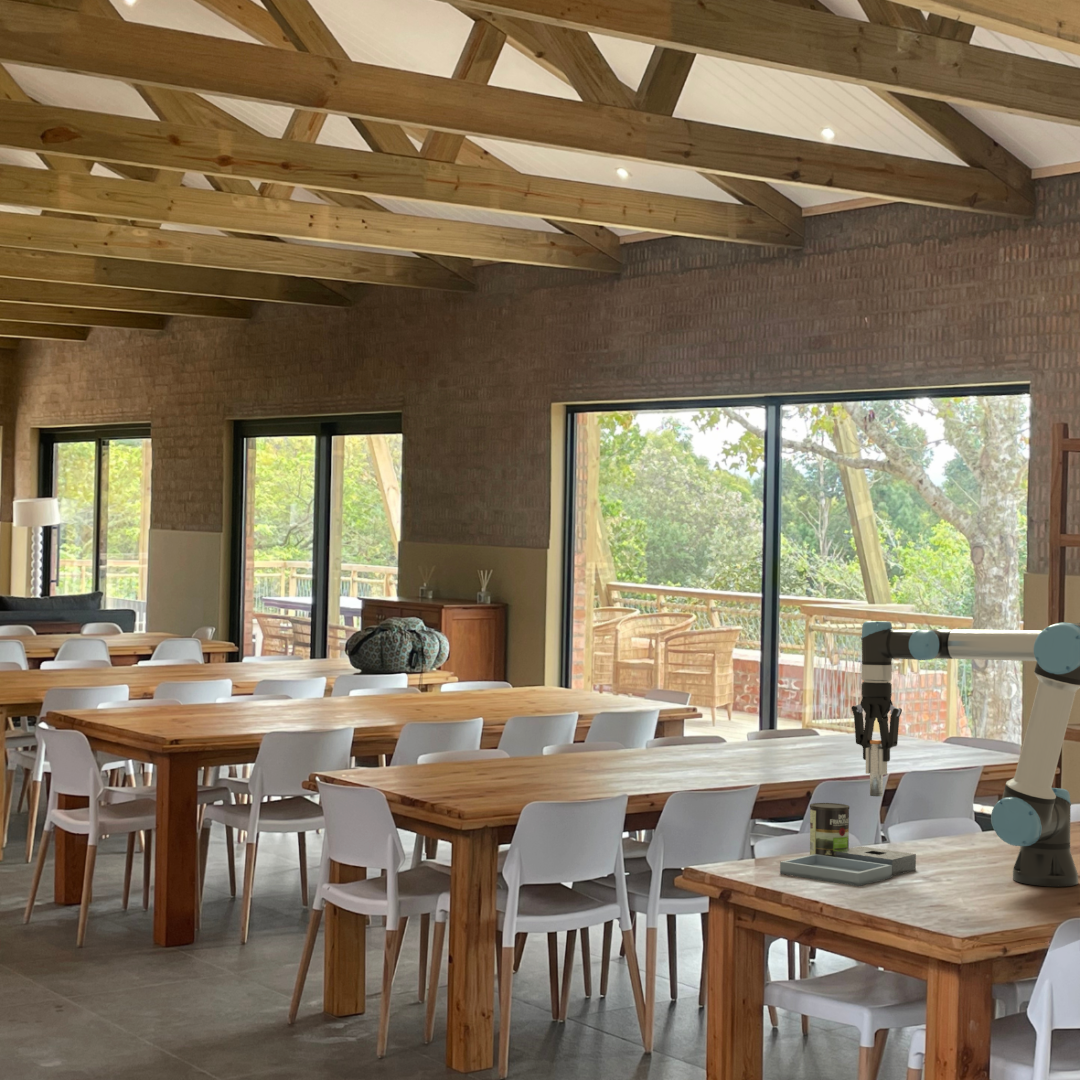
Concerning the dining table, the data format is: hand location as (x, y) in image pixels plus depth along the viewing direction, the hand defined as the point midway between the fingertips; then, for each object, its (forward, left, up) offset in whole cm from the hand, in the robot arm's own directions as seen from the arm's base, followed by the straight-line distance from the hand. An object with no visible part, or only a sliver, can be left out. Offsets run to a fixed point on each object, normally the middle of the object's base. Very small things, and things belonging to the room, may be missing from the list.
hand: (876, 773), depth 379 cm
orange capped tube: (0, 0, -6) cm, 6 cm away
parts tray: (+2, +16, -24) cm, 29 cm away
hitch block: (0, 0, -24) cm, 24 cm away
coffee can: (+16, -4, -24) cm, 29 cm away
